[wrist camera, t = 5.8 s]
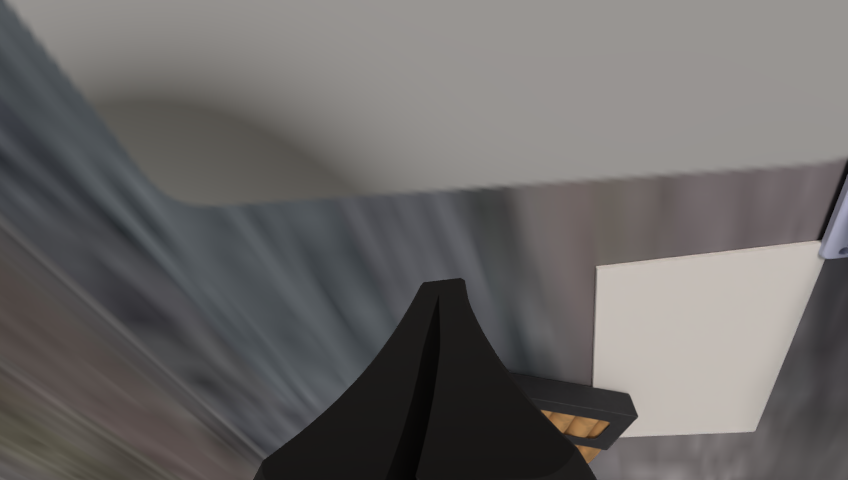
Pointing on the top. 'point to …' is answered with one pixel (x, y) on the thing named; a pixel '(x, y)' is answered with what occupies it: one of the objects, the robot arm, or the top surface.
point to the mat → (700, 334)
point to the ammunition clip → (581, 412)
